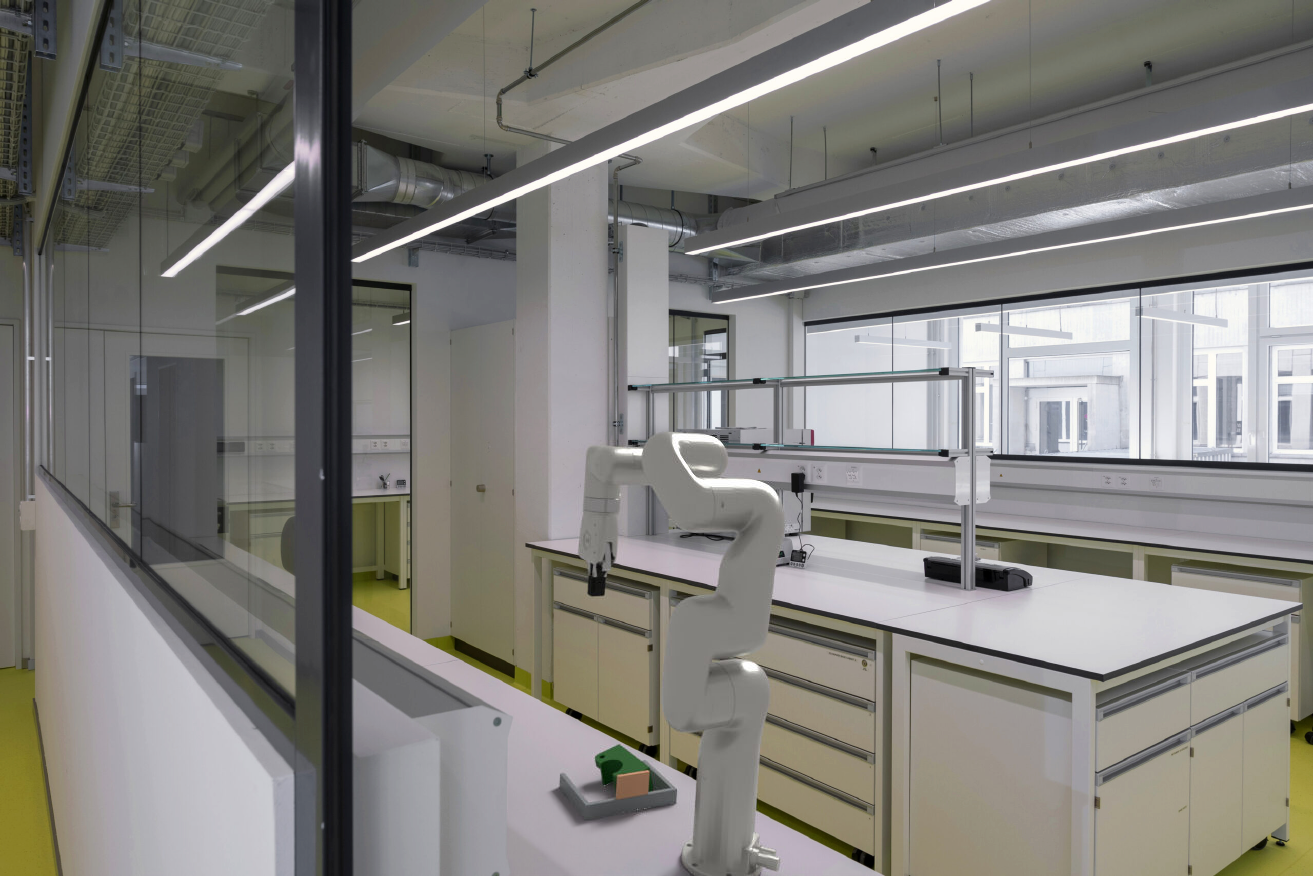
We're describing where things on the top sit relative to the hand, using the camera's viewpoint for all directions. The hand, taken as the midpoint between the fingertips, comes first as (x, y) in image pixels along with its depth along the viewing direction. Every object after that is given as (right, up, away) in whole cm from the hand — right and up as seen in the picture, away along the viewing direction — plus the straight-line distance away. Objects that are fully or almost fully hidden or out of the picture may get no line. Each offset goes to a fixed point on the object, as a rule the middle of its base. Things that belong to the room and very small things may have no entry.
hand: (595, 595), depth 159 cm
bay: (+5, -33, -18) cm, 38 cm away
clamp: (+6, -33, -15) cm, 37 cm away
